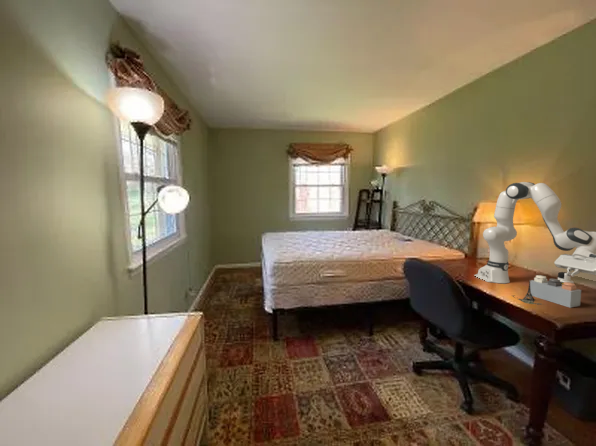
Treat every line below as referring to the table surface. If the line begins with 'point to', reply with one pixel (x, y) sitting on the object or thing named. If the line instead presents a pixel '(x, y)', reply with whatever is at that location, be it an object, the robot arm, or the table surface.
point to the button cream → (540, 279)
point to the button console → (555, 294)
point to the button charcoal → (554, 282)
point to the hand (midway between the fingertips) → (569, 275)
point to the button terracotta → (569, 286)
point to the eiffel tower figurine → (527, 300)
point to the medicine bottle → (564, 278)
